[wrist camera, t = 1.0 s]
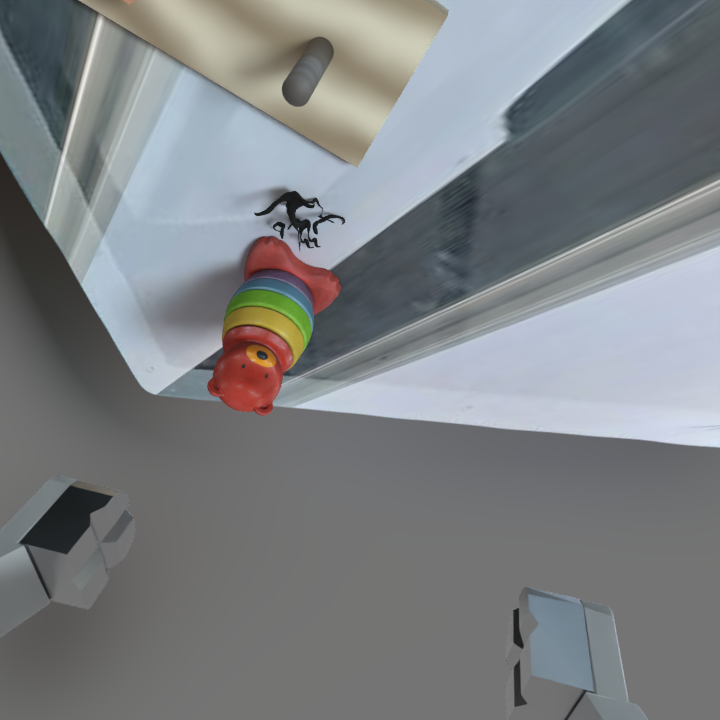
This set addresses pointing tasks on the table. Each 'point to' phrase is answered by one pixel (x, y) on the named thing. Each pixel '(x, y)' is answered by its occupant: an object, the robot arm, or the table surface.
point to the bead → (129, 1)
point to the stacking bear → (268, 325)
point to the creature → (292, 204)
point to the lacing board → (296, 56)
